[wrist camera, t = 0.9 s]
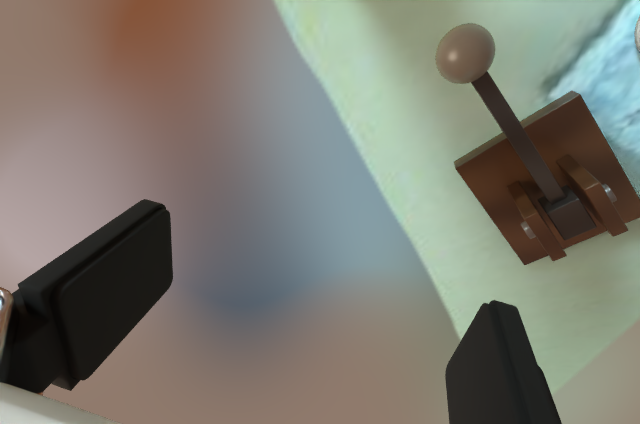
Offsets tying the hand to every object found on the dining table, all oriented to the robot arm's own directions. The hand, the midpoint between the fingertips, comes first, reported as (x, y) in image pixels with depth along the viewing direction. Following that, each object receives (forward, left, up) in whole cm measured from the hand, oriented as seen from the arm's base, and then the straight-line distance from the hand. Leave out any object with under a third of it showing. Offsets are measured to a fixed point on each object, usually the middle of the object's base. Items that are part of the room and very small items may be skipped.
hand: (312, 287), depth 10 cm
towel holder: (-7, +14, -24) cm, 29 cm away
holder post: (-7, +7, -21) cm, 23 cm away
